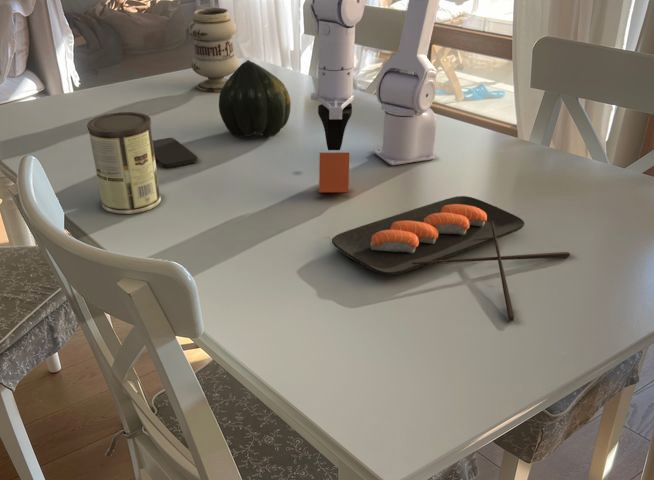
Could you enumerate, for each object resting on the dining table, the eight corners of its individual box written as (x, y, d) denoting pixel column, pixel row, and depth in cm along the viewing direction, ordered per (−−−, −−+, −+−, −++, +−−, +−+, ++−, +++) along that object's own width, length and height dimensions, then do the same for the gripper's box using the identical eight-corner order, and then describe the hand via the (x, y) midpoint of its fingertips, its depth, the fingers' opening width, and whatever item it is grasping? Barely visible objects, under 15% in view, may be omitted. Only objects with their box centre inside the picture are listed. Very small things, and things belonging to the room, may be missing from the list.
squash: (272, 124, 140) (284, 52, 141) (202, 121, 144) (214, 51, 145) (290, 152, 153) (301, 87, 154) (226, 150, 157) (237, 85, 159)
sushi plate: (463, 203, 120) (466, 181, 117) (619, 274, 99) (626, 249, 96) (322, 249, 107) (323, 226, 105) (467, 341, 86) (472, 315, 84)
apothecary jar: (188, 92, 179) (180, 15, 169) (199, 80, 189) (193, 6, 179) (234, 93, 177) (230, 15, 167) (244, 81, 187) (240, 6, 177)
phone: (172, 136, 149) (199, 157, 138) (173, 140, 150) (199, 161, 138) (138, 143, 146) (163, 164, 135) (139, 147, 147) (163, 169, 136)
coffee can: (119, 188, 129) (107, 109, 121) (170, 194, 126) (161, 114, 118) (89, 210, 121) (74, 128, 113) (143, 217, 118) (131, 133, 110)
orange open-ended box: (347, 190, 125) (348, 192, 120) (319, 190, 126) (319, 192, 121) (348, 152, 124) (349, 152, 119) (319, 152, 124) (319, 152, 119)
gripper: (311, 56, 121) (311, 135, 129) (310, 78, 109) (310, 164, 117) (353, 55, 120) (350, 135, 128) (356, 77, 108) (353, 163, 116)
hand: (334, 148), depth 122 cm, fingers closed
